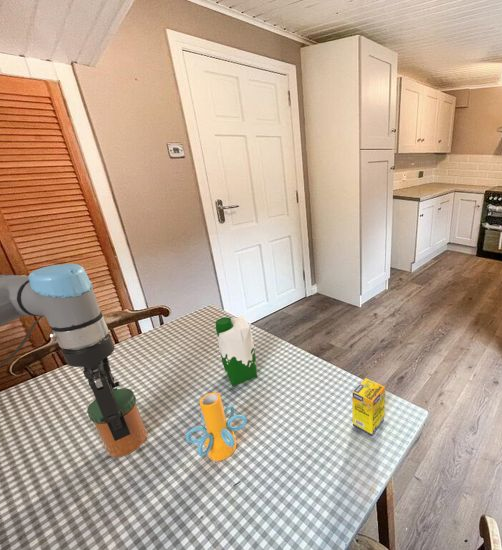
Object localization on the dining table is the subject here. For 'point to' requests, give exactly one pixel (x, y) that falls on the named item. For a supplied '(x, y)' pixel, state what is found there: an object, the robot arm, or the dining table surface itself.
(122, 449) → the jar
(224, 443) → the orange vase
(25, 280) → the robot arm
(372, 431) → the supplement box
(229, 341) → the milk carton
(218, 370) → the dining table surface
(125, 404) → the jar lid
